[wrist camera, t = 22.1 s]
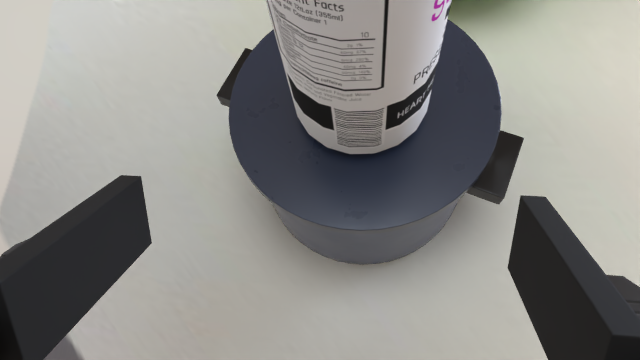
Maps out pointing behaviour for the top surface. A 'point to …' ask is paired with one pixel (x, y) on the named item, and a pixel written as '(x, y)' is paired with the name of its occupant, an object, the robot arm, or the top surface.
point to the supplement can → (360, 66)
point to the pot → (372, 157)
